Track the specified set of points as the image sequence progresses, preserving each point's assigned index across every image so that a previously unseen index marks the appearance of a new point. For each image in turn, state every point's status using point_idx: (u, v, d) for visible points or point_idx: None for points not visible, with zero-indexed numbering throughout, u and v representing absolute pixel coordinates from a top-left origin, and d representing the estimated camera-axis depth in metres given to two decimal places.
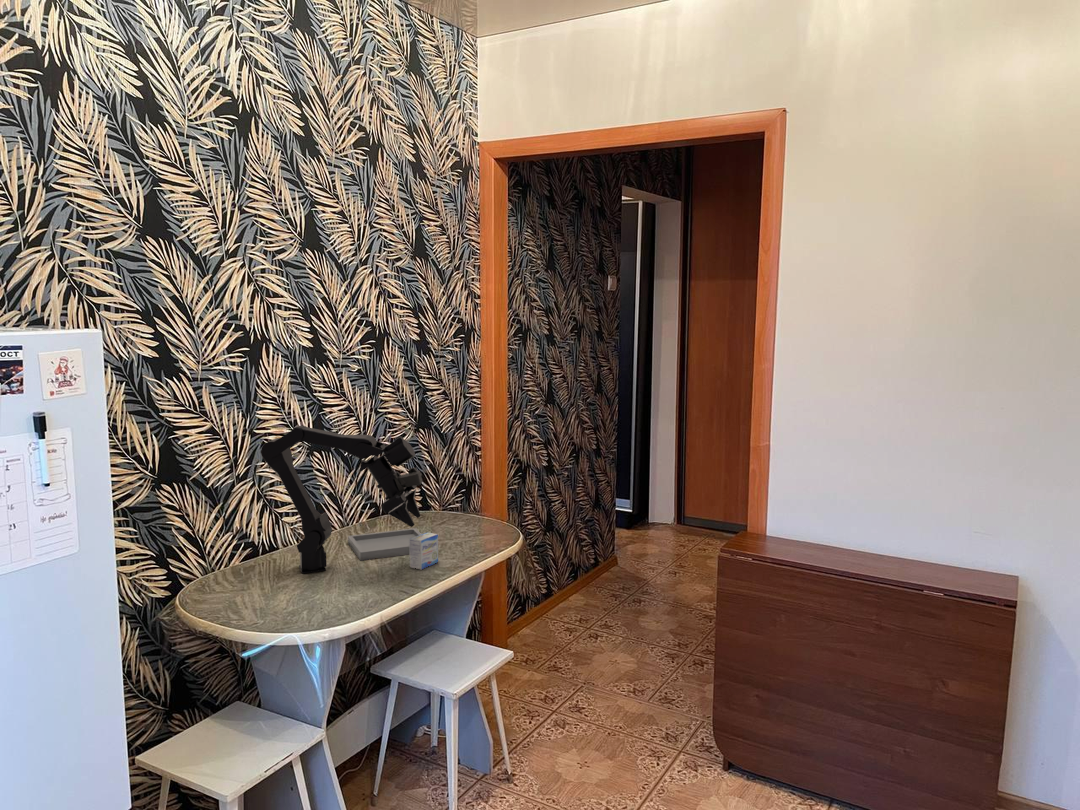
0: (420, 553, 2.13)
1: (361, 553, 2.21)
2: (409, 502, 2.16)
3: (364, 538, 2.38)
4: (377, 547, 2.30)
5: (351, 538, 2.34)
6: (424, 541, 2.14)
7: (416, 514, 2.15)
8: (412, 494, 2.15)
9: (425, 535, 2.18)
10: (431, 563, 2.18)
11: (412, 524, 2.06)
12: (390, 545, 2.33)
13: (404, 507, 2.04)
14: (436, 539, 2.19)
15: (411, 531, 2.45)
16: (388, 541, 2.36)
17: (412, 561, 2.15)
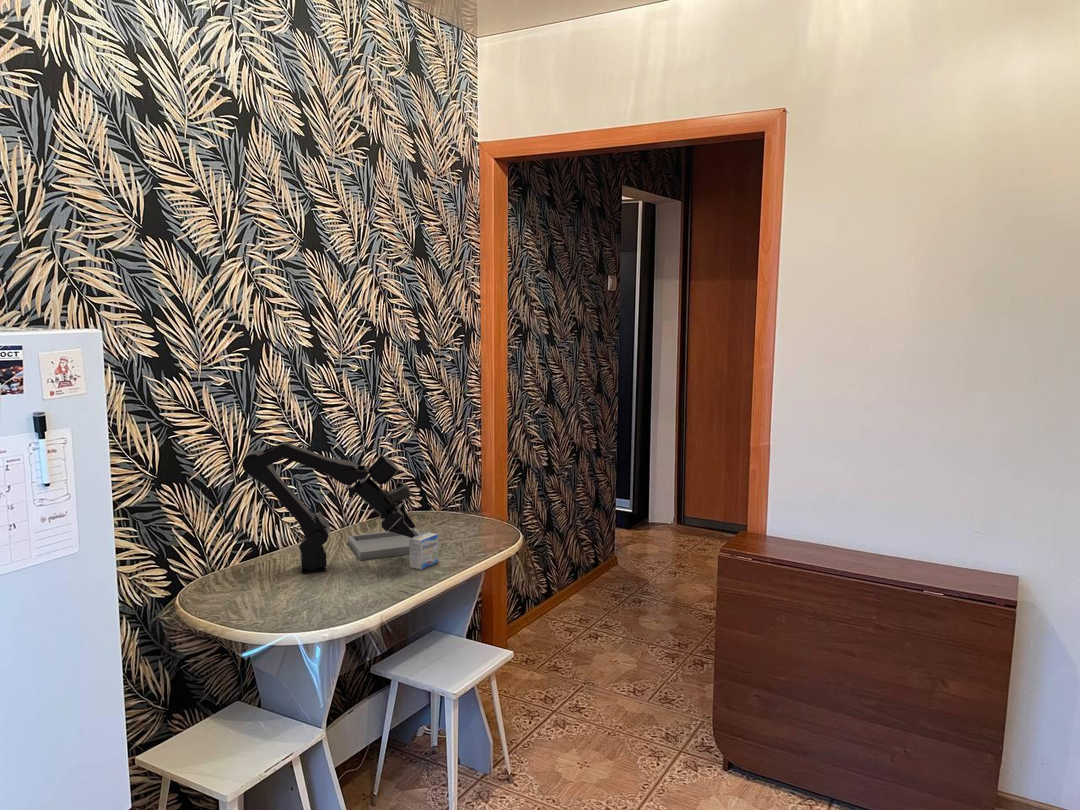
0: (420, 553, 2.13)
1: (361, 553, 2.21)
2: None
3: (364, 538, 2.38)
4: (377, 547, 2.30)
5: (351, 538, 2.34)
6: (424, 541, 2.14)
7: (411, 525, 2.21)
8: (403, 507, 2.20)
9: (425, 535, 2.18)
10: (431, 563, 2.18)
11: (413, 535, 2.12)
12: (390, 545, 2.33)
13: (402, 521, 2.09)
14: (436, 539, 2.19)
15: None
16: (388, 541, 2.36)
17: (412, 561, 2.15)
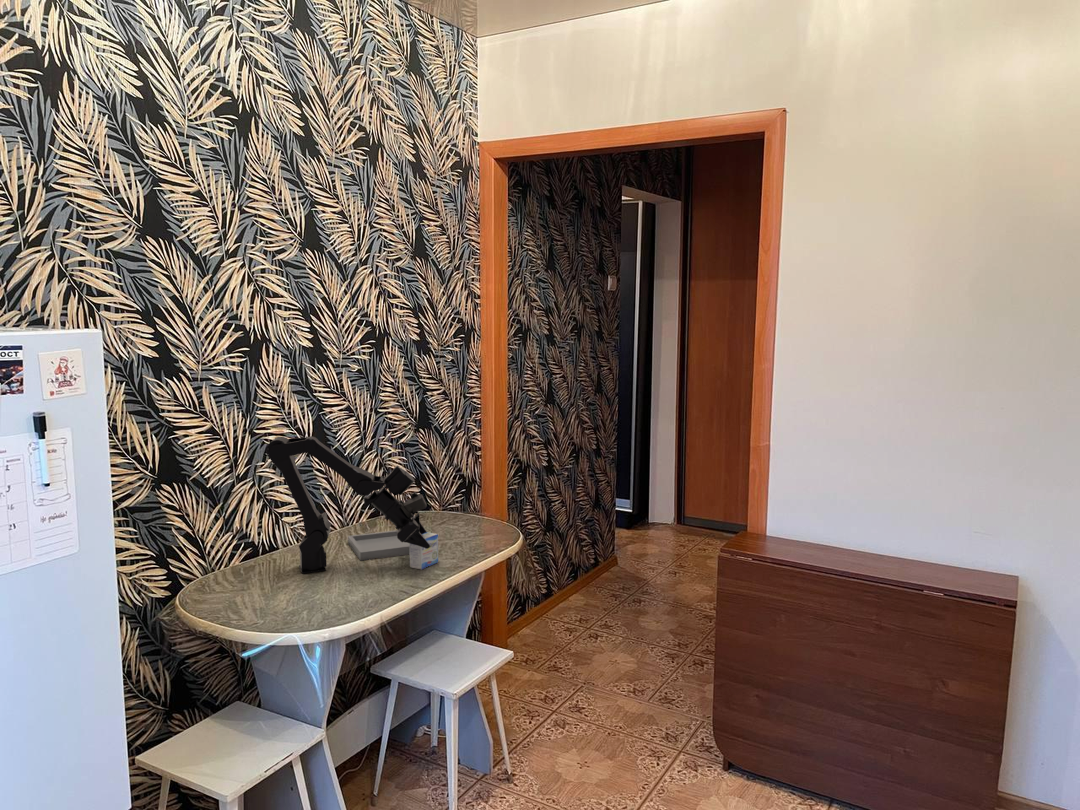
0: (420, 553, 2.13)
1: (361, 553, 2.21)
2: None
3: (364, 538, 2.38)
4: (377, 547, 2.30)
5: (351, 538, 2.34)
6: None
7: None
8: (417, 518, 2.21)
9: (425, 535, 2.18)
10: (431, 563, 2.17)
11: (428, 546, 2.13)
12: (390, 545, 2.33)
13: (418, 531, 2.10)
14: (436, 539, 2.19)
15: None
16: (388, 541, 2.36)
17: (412, 561, 2.15)
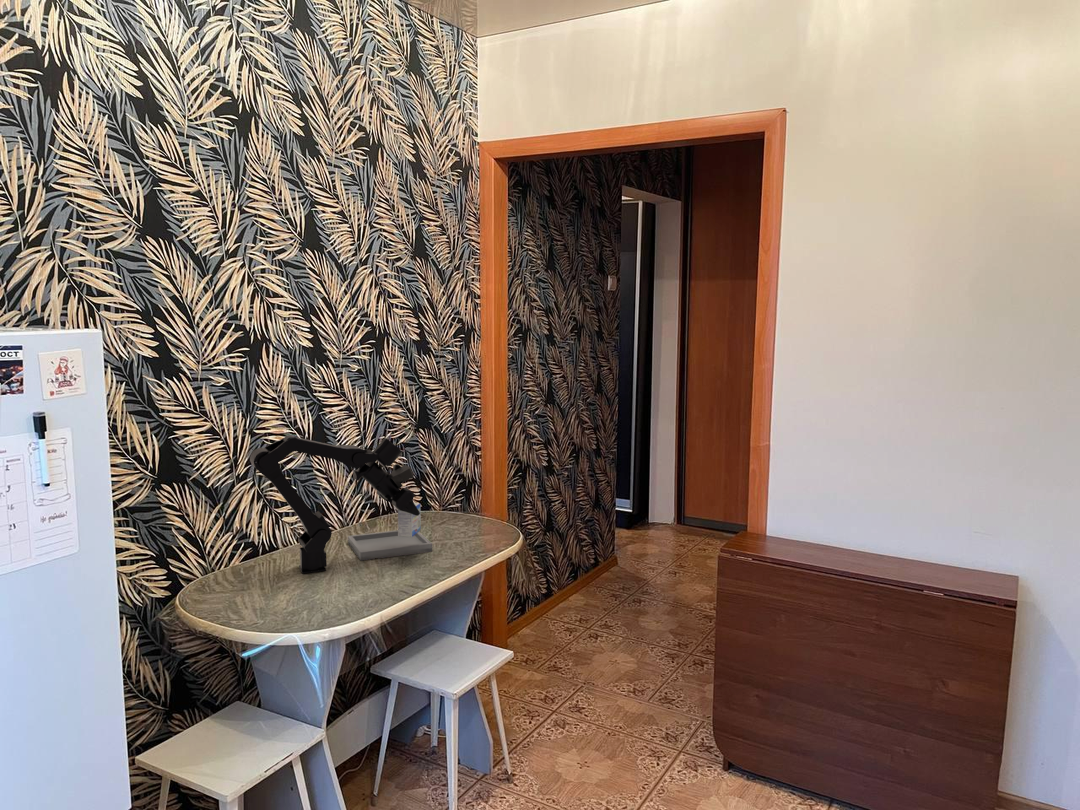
0: (411, 521, 2.22)
1: (361, 553, 2.21)
2: None
3: (364, 538, 2.38)
4: (377, 547, 2.30)
5: (351, 538, 2.34)
6: None
7: None
8: None
9: None
10: (417, 531, 2.27)
11: (418, 513, 2.23)
12: (390, 545, 2.33)
13: (411, 499, 2.19)
14: (419, 508, 2.29)
15: None
16: (388, 541, 2.36)
17: (401, 530, 2.23)
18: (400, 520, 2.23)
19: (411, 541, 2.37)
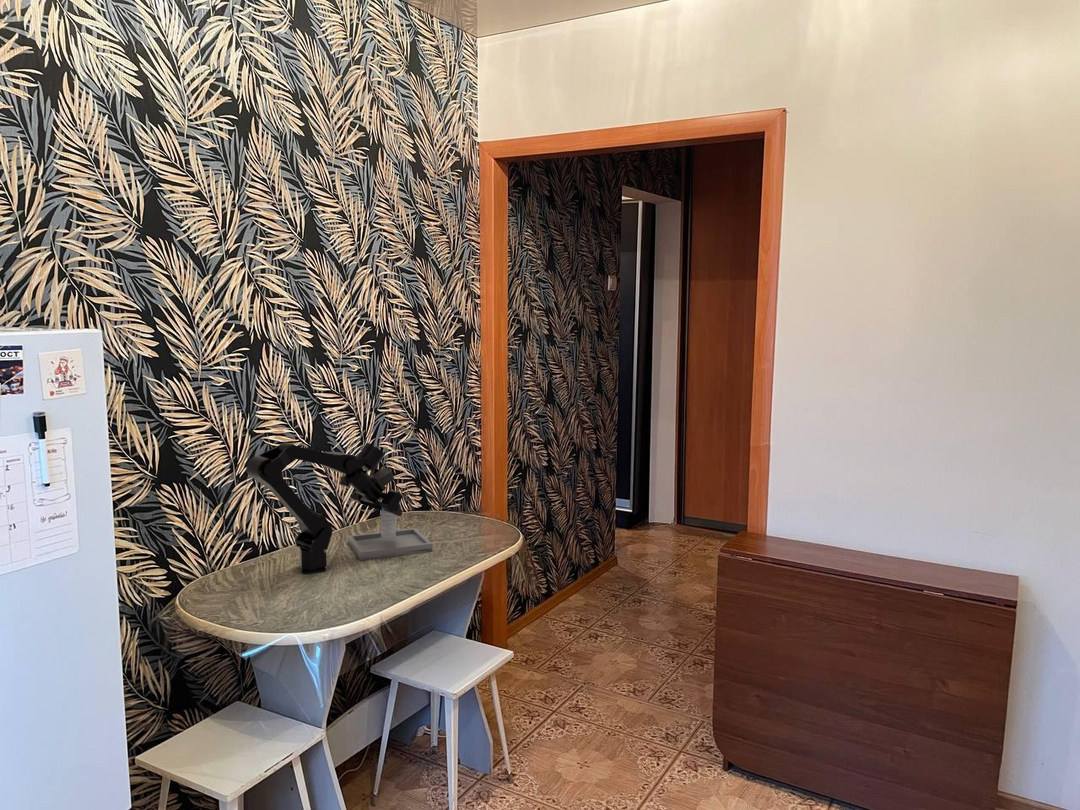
0: (395, 522, 2.29)
1: (361, 553, 2.21)
2: None
3: (364, 538, 2.38)
4: (377, 547, 2.30)
5: (351, 538, 2.34)
6: None
7: (381, 508, 2.35)
8: None
9: None
10: None
11: (401, 513, 2.30)
12: (390, 545, 2.33)
13: None
14: None
15: (411, 531, 2.45)
16: (388, 541, 2.36)
17: (385, 531, 2.29)
18: (383, 522, 2.29)
19: (411, 541, 2.37)
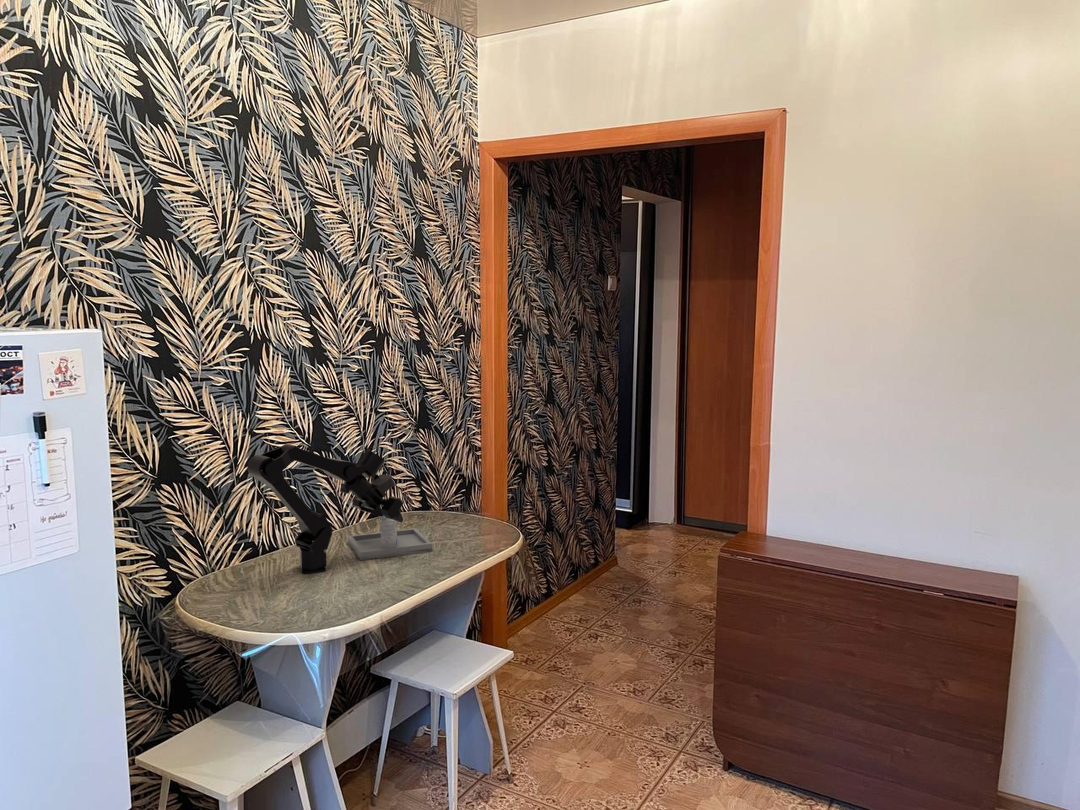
0: (394, 532, 2.29)
1: (361, 553, 2.21)
2: None
3: (364, 538, 2.38)
4: (377, 547, 2.30)
5: (351, 538, 2.34)
6: (395, 521, 2.30)
7: (381, 514, 2.36)
8: None
9: None
10: (396, 541, 2.34)
11: (402, 519, 2.30)
12: None
13: None
14: None
15: (411, 531, 2.45)
16: None
17: (385, 541, 2.29)
18: (383, 532, 2.29)
19: (411, 541, 2.37)
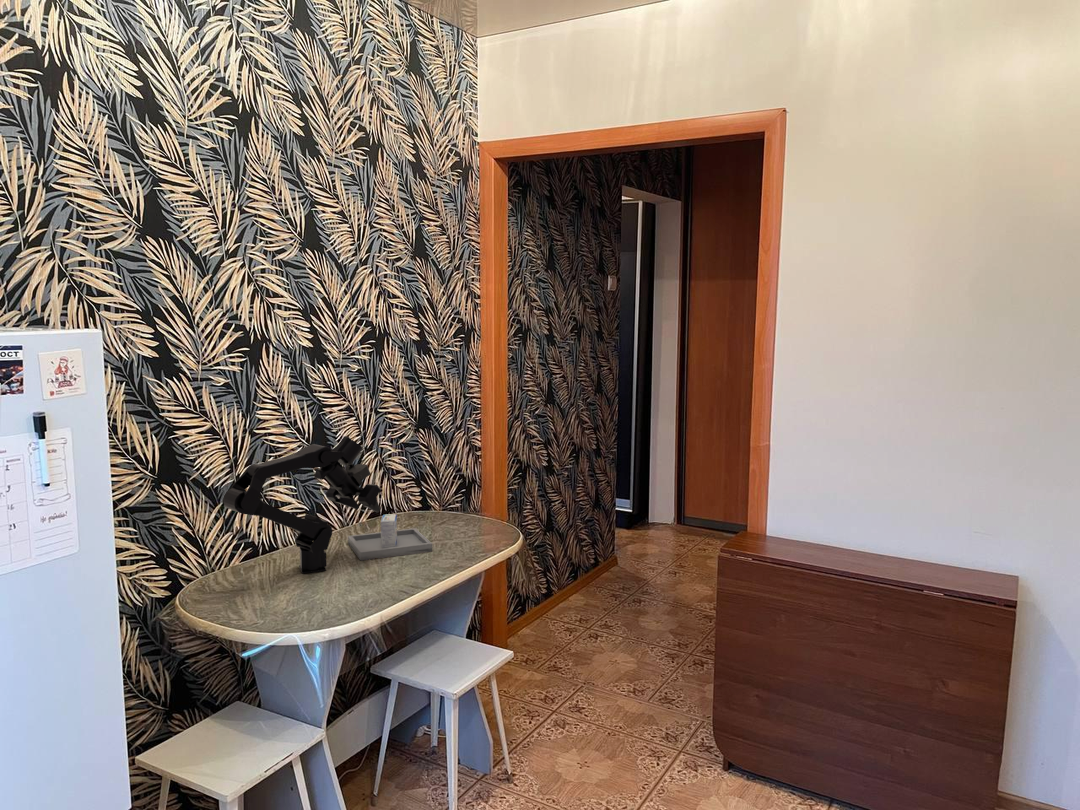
0: (394, 532, 2.29)
1: (361, 553, 2.21)
2: (347, 498, 2.26)
3: (364, 538, 2.38)
4: (377, 547, 2.30)
5: (351, 538, 2.34)
6: (395, 521, 2.30)
7: (356, 506, 2.28)
8: None
9: (388, 516, 2.33)
10: (396, 541, 2.34)
11: (379, 509, 2.23)
12: None
13: None
14: (396, 518, 2.36)
15: (411, 531, 2.45)
16: None
17: (385, 541, 2.29)
18: (383, 532, 2.29)
19: (411, 541, 2.37)
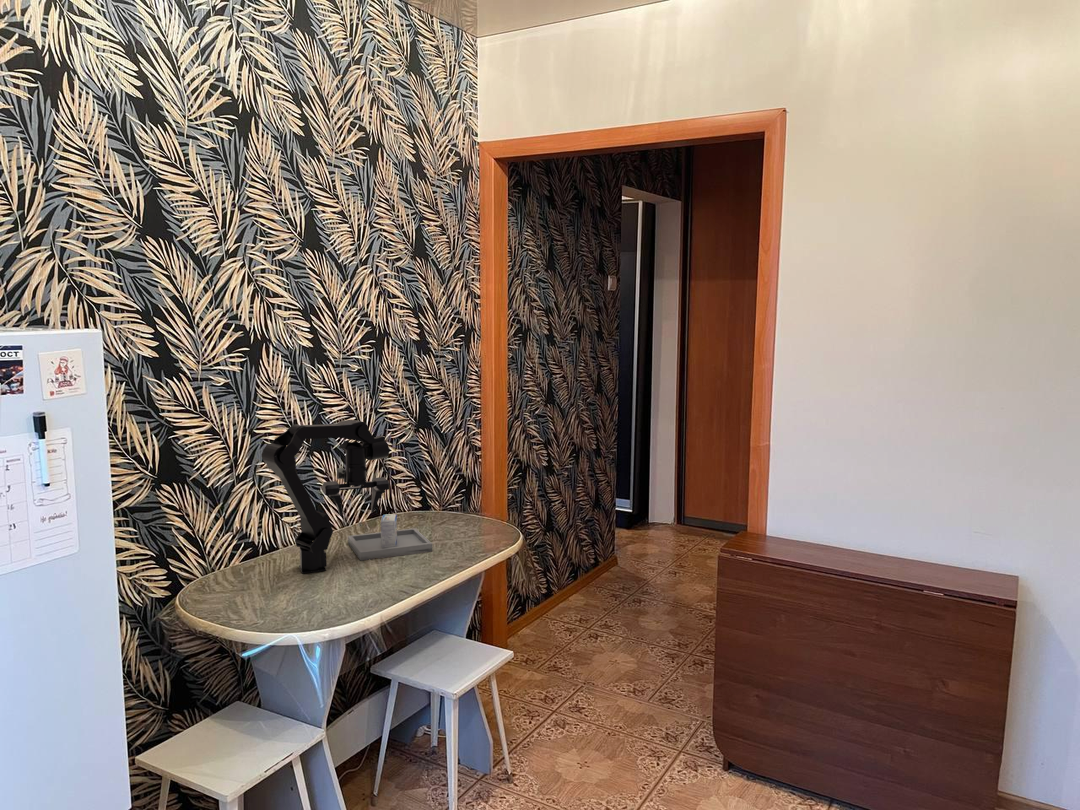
0: (394, 532, 2.29)
1: (361, 553, 2.21)
2: None
3: (364, 538, 2.38)
4: (377, 547, 2.30)
5: (351, 538, 2.34)
6: (395, 521, 2.30)
7: (341, 512, 2.21)
8: None
9: (388, 516, 2.33)
10: (396, 541, 2.34)
11: None
12: None
13: None
14: (396, 518, 2.36)
15: (411, 531, 2.45)
16: None
17: (385, 541, 2.29)
18: (383, 532, 2.29)
19: (411, 541, 2.37)
